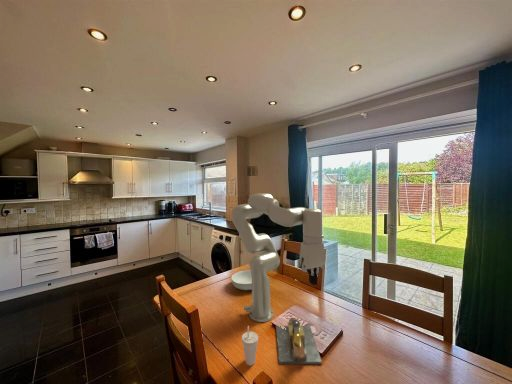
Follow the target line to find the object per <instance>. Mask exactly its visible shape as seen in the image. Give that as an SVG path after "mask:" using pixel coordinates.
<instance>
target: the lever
mask: <svg viewBox="0 0 512 384" xmlns="http://www.w3.org/2000/svg"><path fill="white" fill-rule="evenodd" d="M300 325H301V324H300V321H299V320H297V319H296V320H293V321H292V329H293V331H294V346H295V347H300V346H301V335H300V333H299V331H300Z"/></svg>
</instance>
